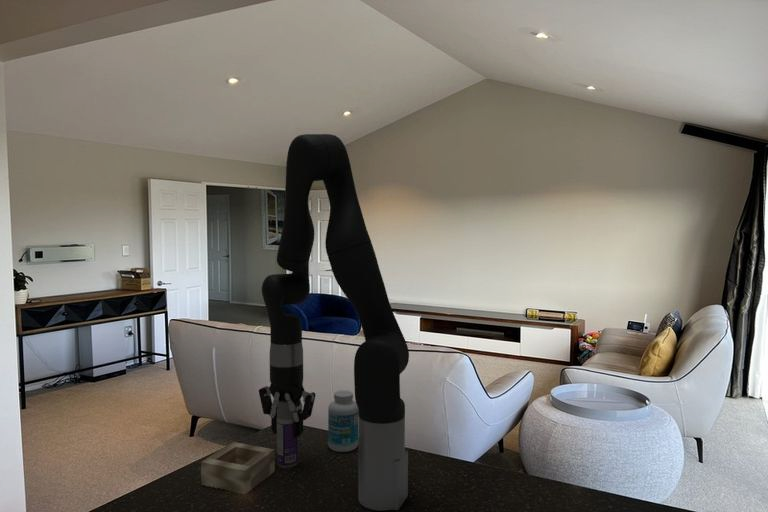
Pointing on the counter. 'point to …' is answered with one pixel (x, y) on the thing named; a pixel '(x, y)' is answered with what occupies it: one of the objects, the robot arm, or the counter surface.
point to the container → (286, 437)
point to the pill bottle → (343, 422)
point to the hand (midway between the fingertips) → (287, 434)
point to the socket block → (238, 467)
